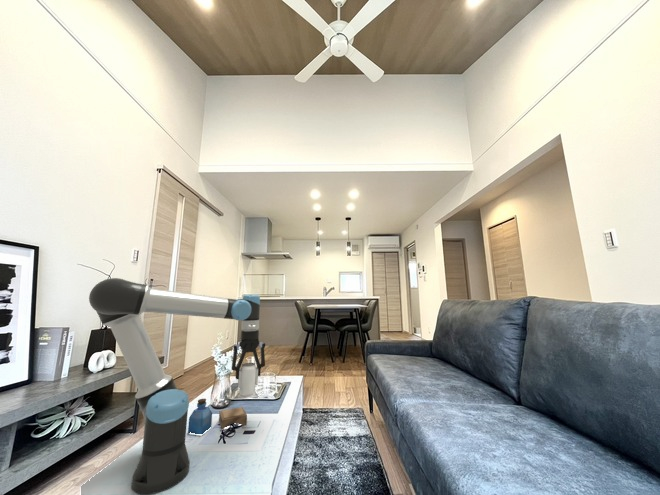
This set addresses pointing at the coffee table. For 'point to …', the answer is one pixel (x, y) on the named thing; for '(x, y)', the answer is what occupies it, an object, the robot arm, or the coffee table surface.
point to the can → (248, 379)
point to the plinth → (232, 417)
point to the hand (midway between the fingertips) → (247, 385)
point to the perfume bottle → (200, 418)
